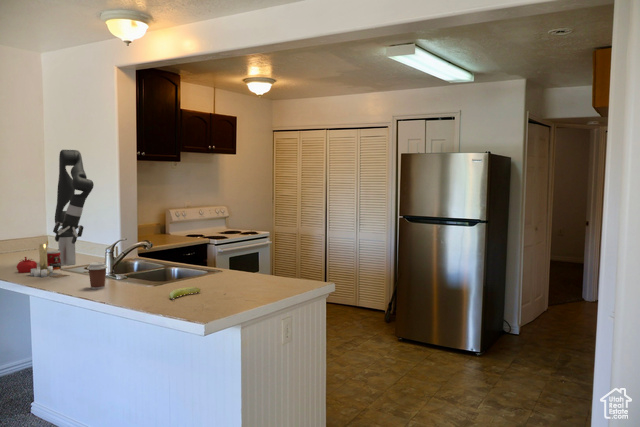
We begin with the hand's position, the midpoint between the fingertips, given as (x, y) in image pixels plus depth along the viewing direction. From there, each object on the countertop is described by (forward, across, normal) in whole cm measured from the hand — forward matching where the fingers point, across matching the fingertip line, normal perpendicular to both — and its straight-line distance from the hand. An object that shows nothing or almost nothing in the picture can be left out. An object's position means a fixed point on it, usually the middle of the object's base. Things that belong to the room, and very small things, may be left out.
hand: (64, 242), depth 268 cm
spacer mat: (+22, +2, -8) cm, 23 cm away
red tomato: (+26, +4, -24) cm, 36 cm away
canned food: (+23, -9, -22) cm, 33 cm away
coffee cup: (+11, -4, +40) cm, 42 cm away
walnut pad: (+19, -2, +2) cm, 19 cm away
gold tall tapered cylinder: (+21, +2, -8) cm, 23 cm away
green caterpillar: (-2, -20, +86) cm, 88 cm away
